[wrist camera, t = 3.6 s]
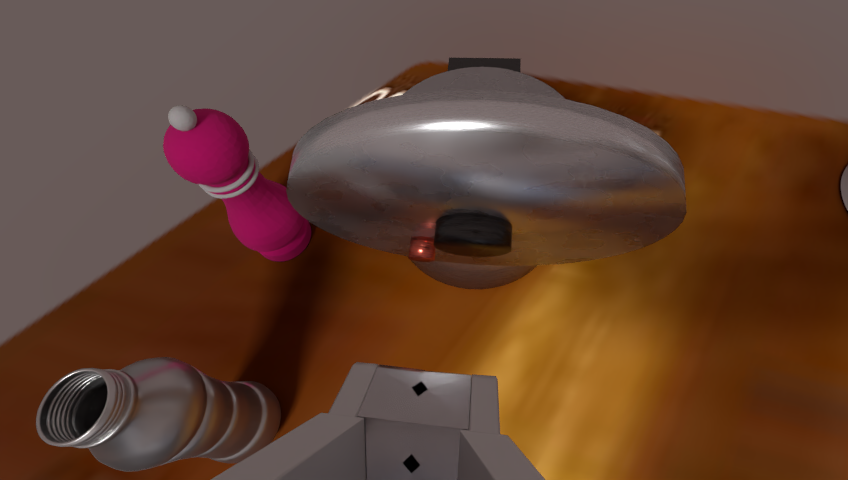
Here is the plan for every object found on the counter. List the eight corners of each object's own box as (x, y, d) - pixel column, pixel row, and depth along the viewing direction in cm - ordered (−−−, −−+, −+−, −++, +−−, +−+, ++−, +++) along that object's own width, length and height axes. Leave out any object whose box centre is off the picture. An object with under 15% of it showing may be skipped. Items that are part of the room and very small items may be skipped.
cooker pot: (554, 134, 50) (581, 49, 39) (560, 306, 41) (596, 259, 30) (407, 128, 52) (393, 47, 41) (381, 292, 43) (355, 242, 32)
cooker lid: (813, 97, 12) (827, 183, 11) (603, 253, 30) (603, 290, 30) (203, 83, 14) (184, 154, 14) (350, 236, 32) (345, 270, 32)
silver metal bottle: (205, 419, 39) (-13, 401, 21) (266, 369, 40) (112, 313, 22) (239, 479, 36) (25, 518, 18) (302, 424, 38) (161, 410, 20)
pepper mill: (278, 199, 49) (173, 60, 31) (328, 223, 47) (247, 89, 29) (240, 249, 46) (101, 130, 28) (291, 276, 44) (177, 166, 27)
